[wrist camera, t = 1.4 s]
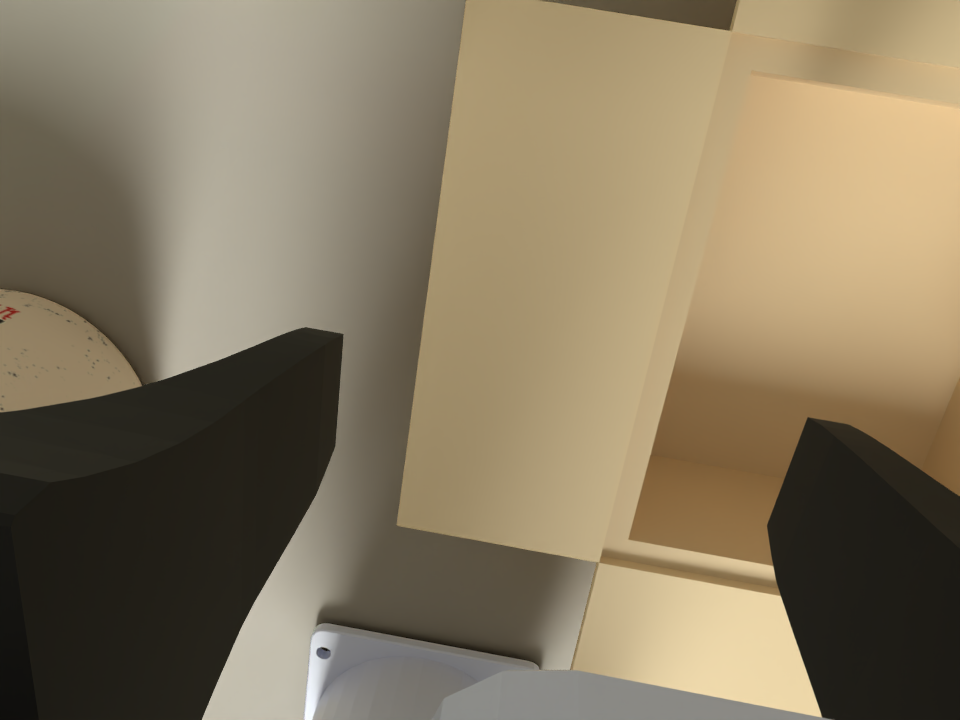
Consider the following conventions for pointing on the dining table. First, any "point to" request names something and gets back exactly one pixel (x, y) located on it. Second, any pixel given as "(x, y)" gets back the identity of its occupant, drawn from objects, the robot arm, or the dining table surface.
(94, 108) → the dining table surface
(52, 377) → the teacup with lid
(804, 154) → the carton
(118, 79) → the dining table surface
